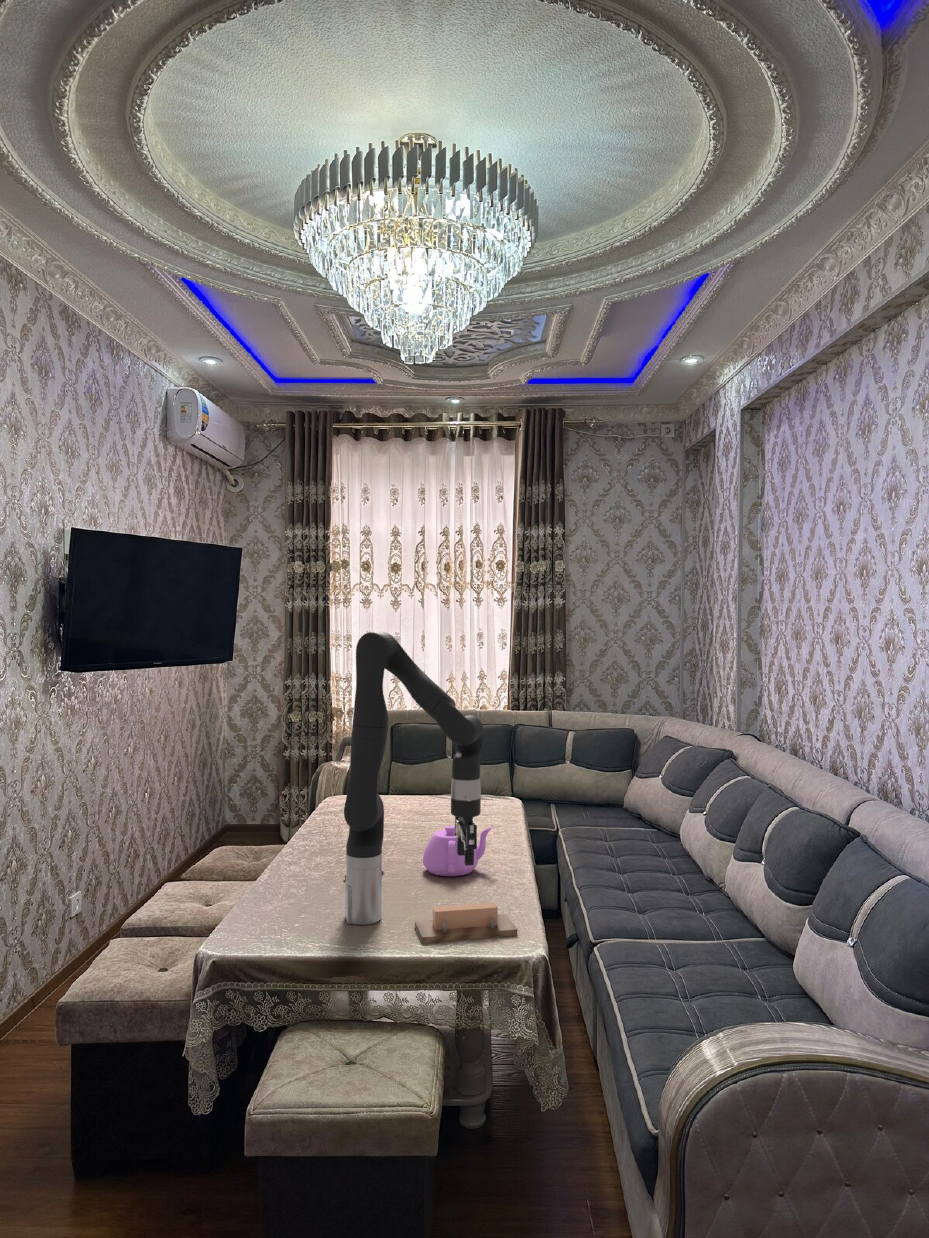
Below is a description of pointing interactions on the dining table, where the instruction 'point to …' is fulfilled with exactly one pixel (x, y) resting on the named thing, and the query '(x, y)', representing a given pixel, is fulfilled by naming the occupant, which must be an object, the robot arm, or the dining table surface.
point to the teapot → (450, 853)
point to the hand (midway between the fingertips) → (465, 859)
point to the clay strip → (465, 915)
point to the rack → (465, 931)
